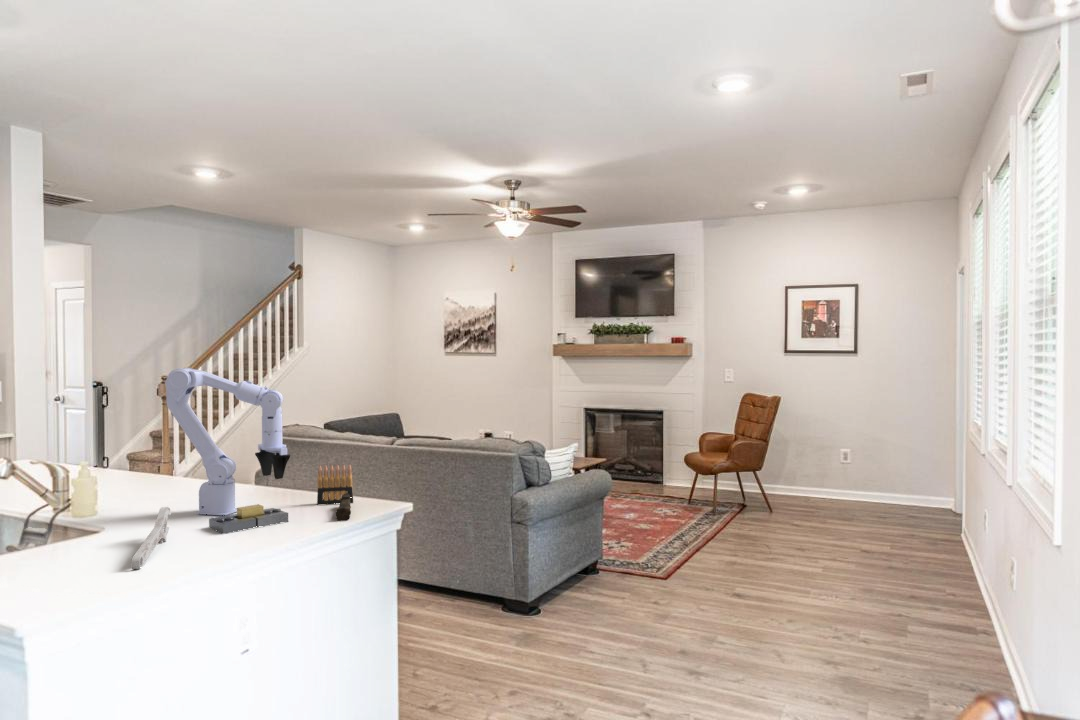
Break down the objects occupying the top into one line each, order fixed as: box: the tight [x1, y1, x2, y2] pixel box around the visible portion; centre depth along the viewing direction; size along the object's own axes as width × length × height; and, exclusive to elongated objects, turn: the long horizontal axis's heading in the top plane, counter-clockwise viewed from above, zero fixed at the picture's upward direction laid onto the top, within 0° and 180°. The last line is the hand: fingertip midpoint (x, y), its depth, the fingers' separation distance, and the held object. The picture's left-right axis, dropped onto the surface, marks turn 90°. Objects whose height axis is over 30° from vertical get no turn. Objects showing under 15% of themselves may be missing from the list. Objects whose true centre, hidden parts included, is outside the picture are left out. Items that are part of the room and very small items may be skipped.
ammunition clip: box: [316, 463, 354, 505], centre depth 232 cm, size 11×2×12 cm, turn 102°
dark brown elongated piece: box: [335, 493, 352, 522], centre depth 219 cm, size 19×4×5 cm, turn 9°
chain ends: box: [208, 507, 289, 534], centre depth 205 cm, size 18×9×3 cm, turn 136°
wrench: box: [131, 506, 172, 570], centre depth 179 cm, size 8×2×30 cm
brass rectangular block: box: [236, 503, 264, 519], centre depth 205 cm, size 6×3×5 cm, turn 136°
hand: (272, 477), depth 222 cm, fingers open, 7 cm apart
